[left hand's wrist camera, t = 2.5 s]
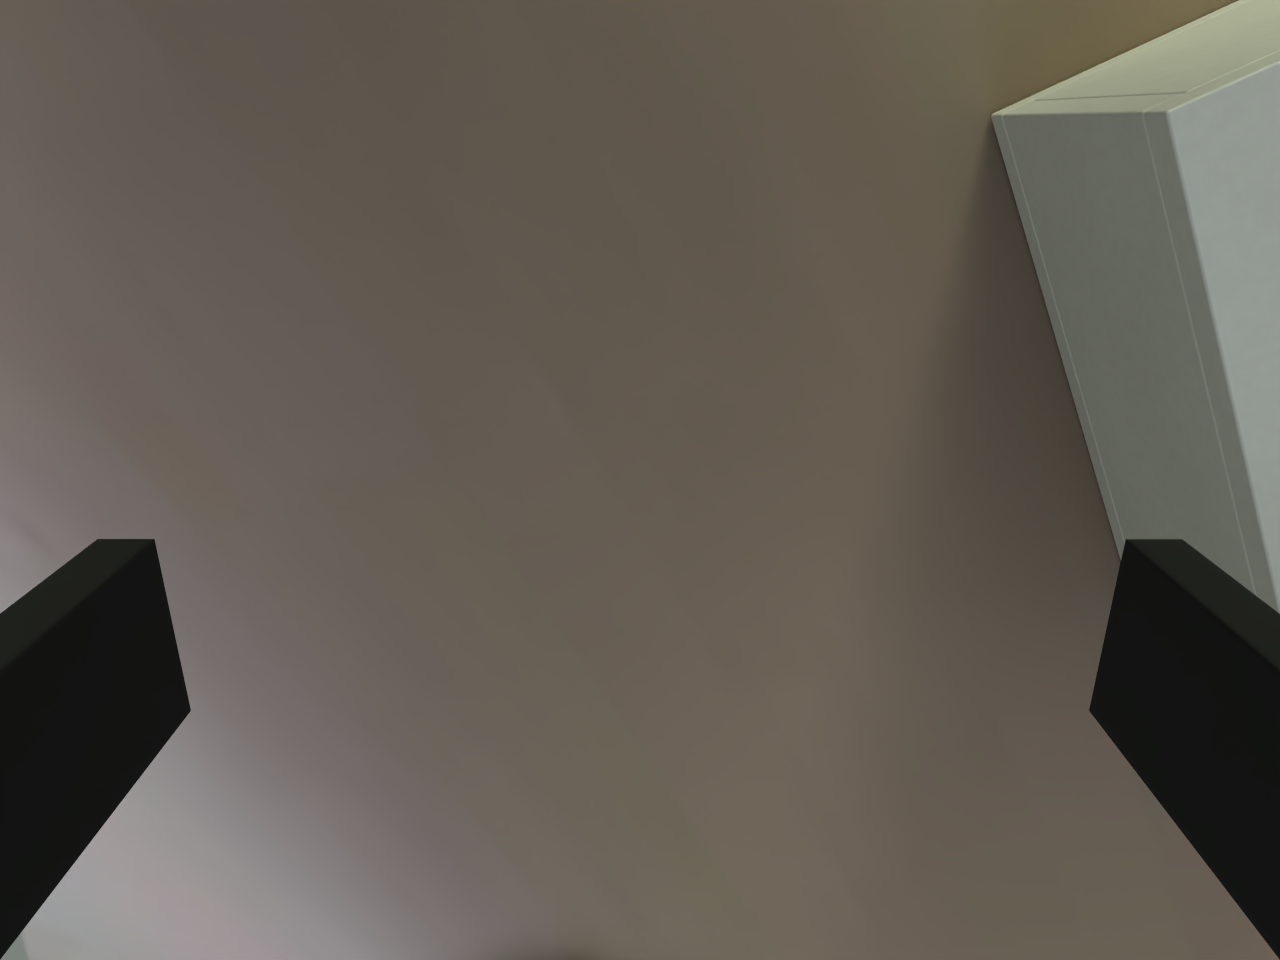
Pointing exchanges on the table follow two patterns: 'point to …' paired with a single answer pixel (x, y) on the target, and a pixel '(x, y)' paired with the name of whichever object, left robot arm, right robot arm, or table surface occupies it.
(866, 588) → the table surface
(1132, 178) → the cabinet
